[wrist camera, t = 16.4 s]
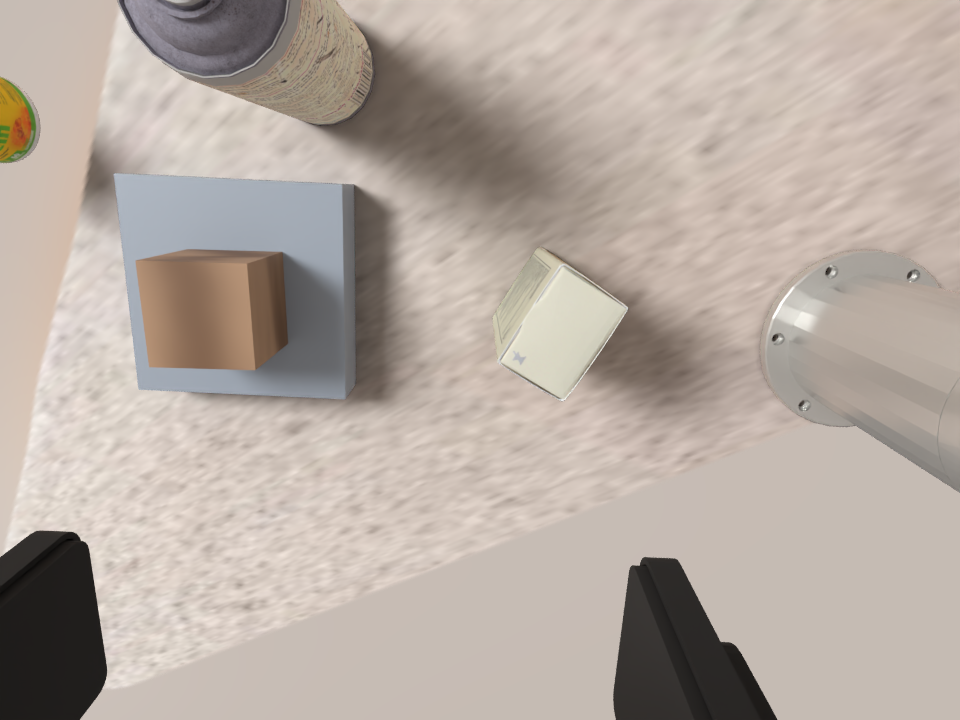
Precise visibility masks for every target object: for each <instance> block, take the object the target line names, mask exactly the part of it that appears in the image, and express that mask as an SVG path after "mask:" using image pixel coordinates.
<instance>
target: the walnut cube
mask: <svg viewBox="0 0 960 720" xmlns="http://www.w3.org/2000/svg"><path fill="white" fill-rule="evenodd" d="M135 262H136V270H137V278H138V286H139V293H140V301H141V309H142V316H143V324H144V332H145V339H146V347H147V355H148V363H149V367H156V368H192V369H227V370H256V369H258V368H259V367H260V366H261V365H262V364H264V363H265V362H266V361H267V360H269V359H270V358H271V357H272V356H274V355H275V354H276V353H277V352H278V351H280V350H281V349H282V348H283V347H285V346H286V345H287V344H288V333H287V316H286V300H285V284H284V268H283V252H272V251H237V250H202V249H186V250H181V251H177V252H172V253H167V254H163V255H158V256H154V257H149V258H144V259H140V260H135Z"/></svg>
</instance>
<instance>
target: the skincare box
mask: <svg viewBox="0 0 960 720" xmlns="http://www.w3.org/2000/svg"><path fill="white" fill-rule="evenodd" d="M627 311H628V307H627V306H626V305H625V304H624V303H622V302H621V301H620V300H618V299H617V298H615V297H614V296H613V295H611V294H610V293H609V292H607V291H606V290H604V289H603V288H602V287H600V286H599V285H597V284H596V283H594V282H593V281H592V280H590V279H589V278H587V277H586V276H584V275H583V274H581V273H580V272H579V271H577V270H576V269H574V268H573V267H571V266H570V265H568V264H567V263H565V262H564V261H562V260H561V259H560V258H558V257H556V256H555V255H553V254H552V253H550V252H549V251H547V250H545V249H544V248H542V247H538V248H537V249H536V251H535V252H534V253H533V255H532V256H531V258H530V259H529V261H528V262H527V264H526V265H525V267H524V268H523V270H522V271H521V273H520V274H519V276H518V277H517V279H516V280H515V282H514V283H513V285H512V287H511V288H510V290H509V291H508V293H507V295H506V296H505V298H504V299H503V301H502V303H501V304H500V306H499V308H498V309H497V311H496V313H495V314H494V316H493V318H492V320H493V329H494V337H495V346H496V354H497V362H498V363H499V364H500V365H502V366H503V367H505V368H506V369H508V370H509V371H511V372H512V373H514V374H516V375H517V376H519V377H520V378H522V379H523V380H525V381H527V382H528V383H530V384H532V385H533V386H535V387H537V388H538V389H540V390H542V391H543V392H545V393H547V394H548V395H550V396H552V397H554V398H556V399H558V400H559V401H564V400H566V398H567V397H568V396H569V395H570V393H571V392H572V391H573V390H574V388H575V387H576V386H577V384H578V383H579V382H580V380H581V379H582V378H583V376H584V375H585V374H586V372H587V371H588V369H589V368H590V366H591V365H592V363H593V362H594V361H595V359H596V358H597V356H598V355H599V353H600V352H601V350H602V349H603V348H604V346H605V345H606V343H607V342H608V340H609V339H610V337H611V336H612V334H613V332H614V331H615V329H616V328H617V326H618V325H619V323H620V322H621V320H622V318H623V317H624V315H625V314H626V312H627Z"/></svg>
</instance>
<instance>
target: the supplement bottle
mask: <svg viewBox="0 0 960 720" xmlns="http://www.w3.org/2000/svg"><path fill="white" fill-rule="evenodd" d="M39 136H40V120H39V116H38V113H37V110H36V108H35V106H34V104H33V102H32V101H31V99H30V98H29V97H28V95H27V94H26V93H25V92H24V91H23V90H22V89H21V88H20V87H19V86H17V85H16V84H14V83H13V82H11V81H9V80H7V79H5V78H2V77H0V163H12V162H16V161H19V160H22V159H24V158H25V157H27V156H28V155H29V154H30V153H31V152H32V151H33V150H34V149H35V147H36V145H37V143H38V140H39Z"/></svg>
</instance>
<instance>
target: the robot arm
mask: <svg viewBox="0 0 960 720" xmlns="http://www.w3.org/2000/svg"><path fill="white" fill-rule="evenodd" d="M827 268H828V271H827V273H826V274H825V271H826V269H827ZM774 335H775V338H774V339H772V337H773V336H774ZM760 359H761V365H762V371H763V373H764V376H765V378H766V381H767V383H768V386H769V387H770V388H771V390H772V391H773V393H774V394H775V396H776V397H777V398H778V399H779V400H780V401H781V402H782V403H783V404H784V405H785V406H786V407H788V408H789V409H790V410H792V411H793V412H794V413H796V414H797V415H799V416H801V417H803V418H805V419H807V420H809V421H812V422H814V423H818V424H823V425H827V426H836V427H850V426H857V427H859V428H860V429H862V430H863V431H865V432H866V433H868V434H870V435H871V436H873V437H874V438H876V439H877V440H879V441H881V442H882V443H883V444H885V445H887V446H888V447H890V448H891V449H893V450H894V451H896V452H898V453H899V454H900V455H902V456H904V457H905V458H907V459H908V460H910V461H911V462H913V463H915V464H916V465H918V466H919V467H921V468H922V469H924V470H925V471H927V472H928V473H930V474H932V475H933V476H935V477H936V478H938V479H939V480H941V481H942V482H944V483H946V484H947V485H949V486H950V487H952V488H953V489H955V490H956V491H958V492H960V293H959V292H954V291H950V290H945V289H941V288H940V287H939V285H938V283H937V282H936V280H935V279H934V278H933V277H932V276H931V275H930V274H929V273H928V272H927V271H926V270H925V268H923V267H922V266H920V265H919V264H917V263H915V262H914V261H912V260H911V259H908V258H906V257H903V256H900V255H898V254H895V253H890V252H884V251H879V250H855V251H848V252H842V253H839V254H836V255H833V256H830V257H827V258H824V259H822V260H821V261H819V262H817V263H815V264H813V265H811V266H809V267H808V268H806V269H805V270H804V271H803V272H801V273H800V274H799V275H797V276H796V277H795V278H794V279H793V280H792V281H791V282H790V283H789V284H788V285H787V286H786V287H785V288H784V289H783V290H782V291H781V293H780V294H779V296H778V297H777V299H776V300H775V302H774V303H773V305H772V306H771V308H770V311H769V313H768V315H767V318H766V320H765V322H764V326H763V330H762V335H761V339H760ZM800 402H801V403H800ZM799 403H800V404H799ZM106 676H107V665H106V658H105V652H104V645H103V639H102V632H101V625H100V619H99V612H98V606H97V599H96V592H95V586H94V579H93V573H92V566H91V559H90V553H89V548H88V545H87V544H86V543H85V542H83V541H81V540H80V537H79V536H78V535H77V534H76V533H74V532H61V531H36V532H34V533H32V534H30V535H29V536H28V537H26V538H25V539H24V540H22V541H21V542H20V543H18V544H17V545H16V546H14V547H13V548H12V549H10V550H9V551H8V552H7V553H5V554H4V555H3V556H1V557H0V720H80V718H81V717H82V716H83V715H84V713H85V712H86V711H87V709H88V708H89V707H90V706H91V704H92V703H93V701H94V700H95V699H96V698H97V696H98V695H99V693H100V692H101V690H102V688H103V686H104V684H105V680H106ZM613 695H614V696H613V697H614V699H613V701H614V712H615V717H616V720H777V718H776V716H775V715H774V713H773V711H772V709H771V707H770V705H769V703H768V702H767V700H766V698H765V696H764V694H763V692H762V691H761V689H760V687H759V685H758V683H757V681H756V680H755V678H754V676H753V674H752V672H751V671H750V669H749V667H748V665H747V663H746V661H745V660H744V658H743V656H742V654H741V653H740V651H739V650H738V648H737V647H736V646H735V645H734V644H732V643H729V642H720V640H719V638H718V636H717V634H716V632H715V630H714V628H713V626H712V625H711V623H710V621H709V619H708V617H707V615H706V613H705V611H704V609H703V607H702V605H701V603H700V601H699V600H698V597H697V596H696V594H695V592H694V590H693V588H692V586H691V584H690V582H689V580H688V578H687V576H686V574H685V572H684V570H683V569H682V566H681V565H680V563H679V562H678V560H677V559H671V558H669V559H668V558H648V557H644V558H642V560H641V563H640V566H631V567H630V570H629V577H628V584H627V592H626V601H625V608H624V616H623V623H622V631H621V638H620V646H619V654H618V661H617V669H616V677H615V684H614V694H613Z"/></svg>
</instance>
